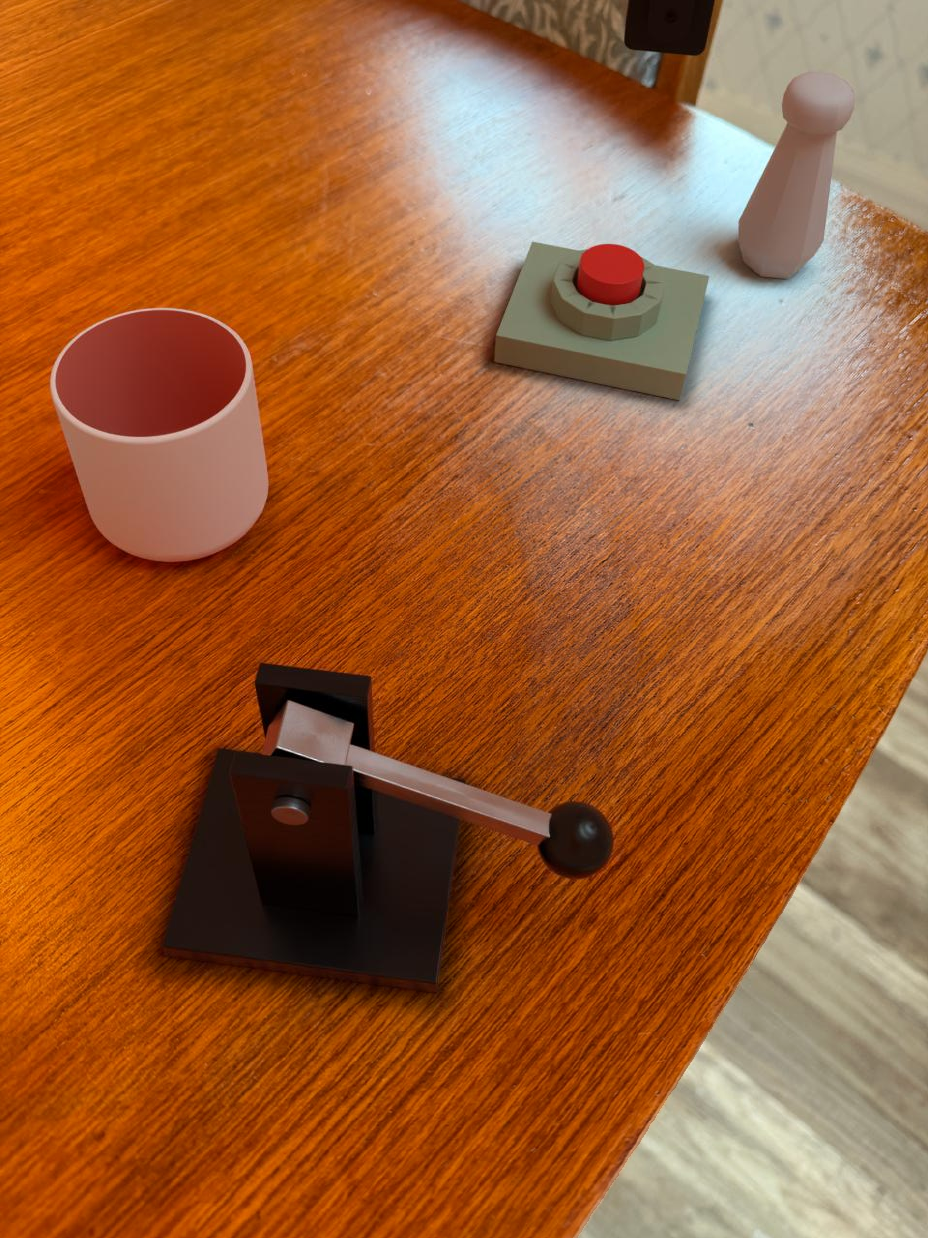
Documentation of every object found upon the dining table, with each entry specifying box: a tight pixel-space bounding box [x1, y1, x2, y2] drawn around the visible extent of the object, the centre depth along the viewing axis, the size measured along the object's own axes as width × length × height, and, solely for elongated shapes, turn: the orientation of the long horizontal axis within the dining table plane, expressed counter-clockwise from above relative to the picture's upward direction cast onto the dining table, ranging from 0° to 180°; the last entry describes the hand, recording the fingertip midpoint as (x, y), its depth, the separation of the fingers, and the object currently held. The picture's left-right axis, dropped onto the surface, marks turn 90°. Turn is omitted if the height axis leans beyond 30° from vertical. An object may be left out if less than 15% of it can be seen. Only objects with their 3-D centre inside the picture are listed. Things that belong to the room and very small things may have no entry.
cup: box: [49, 307, 269, 563], centre depth 64 cm, size 10×10×10 cm
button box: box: [493, 241, 710, 401], centre depth 77 cm, size 12×10×4 cm
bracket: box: [161, 662, 467, 993], centre depth 50 cm, size 12×10×13 cm
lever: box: [261, 700, 615, 880], centre depth 48 cm, size 15×3×3 cm, turn 83°
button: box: [577, 243, 644, 306], centre depth 75 cm, size 4×4×2 cm
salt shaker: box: [737, 70, 856, 280], centre depth 78 cm, size 6×6×13 cm
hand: (663, 41), depth 48 cm, fingers closed
